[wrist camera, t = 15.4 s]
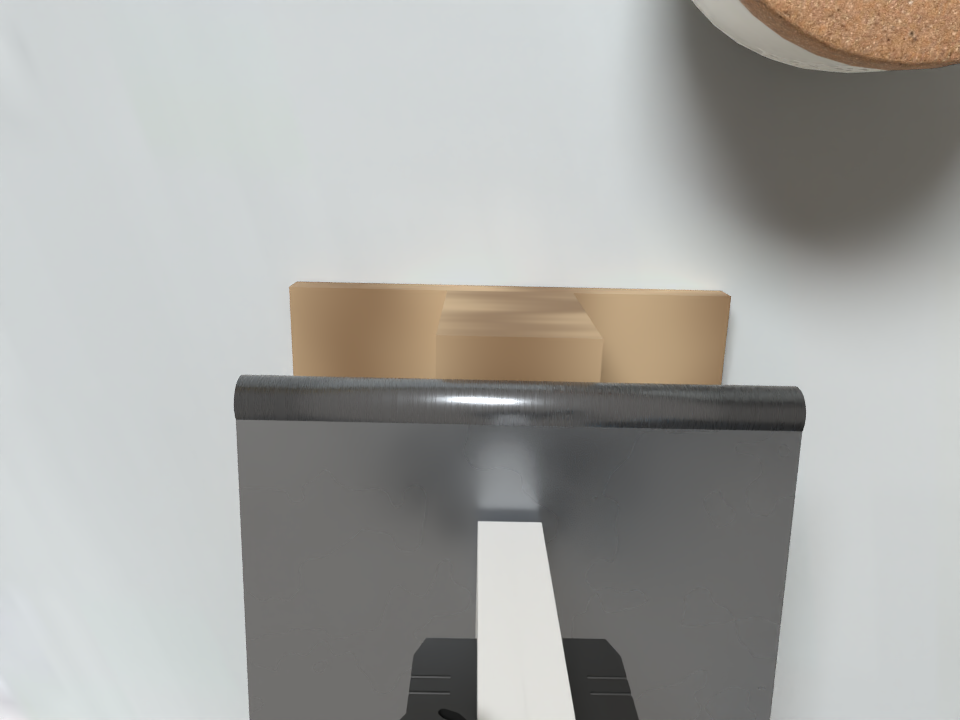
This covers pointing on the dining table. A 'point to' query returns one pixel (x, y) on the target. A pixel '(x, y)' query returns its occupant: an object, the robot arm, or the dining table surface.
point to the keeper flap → (513, 498)
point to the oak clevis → (508, 333)
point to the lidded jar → (843, 32)
